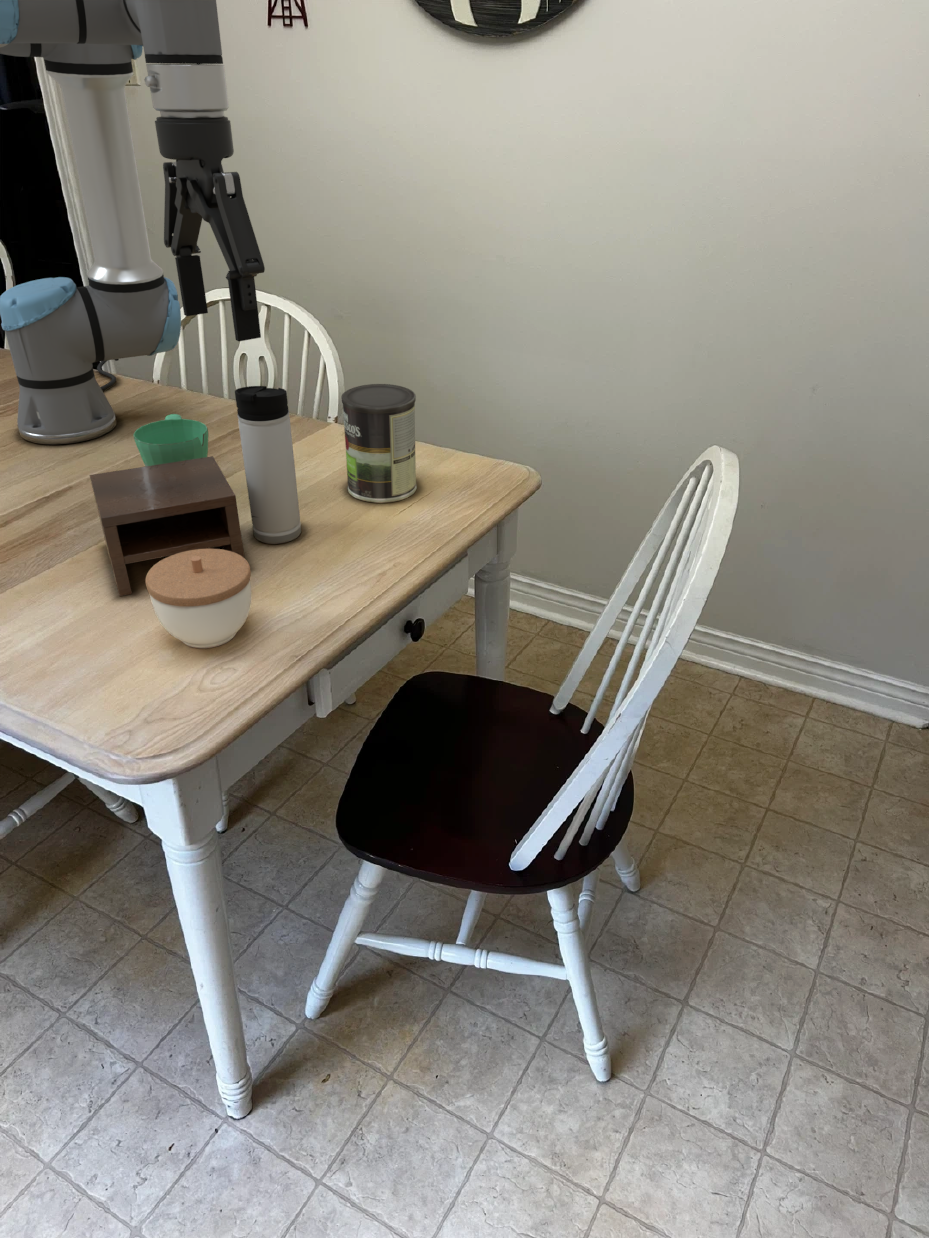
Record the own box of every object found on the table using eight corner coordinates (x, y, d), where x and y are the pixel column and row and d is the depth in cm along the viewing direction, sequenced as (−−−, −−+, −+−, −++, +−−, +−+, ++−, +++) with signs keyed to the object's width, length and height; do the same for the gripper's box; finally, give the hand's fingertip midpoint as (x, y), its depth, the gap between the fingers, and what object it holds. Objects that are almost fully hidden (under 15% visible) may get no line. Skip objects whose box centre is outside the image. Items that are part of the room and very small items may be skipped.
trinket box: (137, 639, 95) (119, 564, 90) (211, 597, 102) (199, 526, 97) (205, 672, 90) (191, 595, 85) (278, 626, 97) (269, 552, 92)
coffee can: (358, 508, 123) (352, 411, 115) (340, 479, 131) (333, 387, 123) (427, 497, 126) (425, 402, 118) (405, 470, 134) (402, 380, 127)
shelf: (107, 548, 112) (89, 475, 107) (223, 526, 118) (212, 456, 112) (119, 596, 102) (100, 518, 97) (246, 570, 108) (235, 495, 102)
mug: (219, 508, 122) (208, 440, 117) (145, 516, 120) (131, 447, 115) (215, 468, 134) (205, 405, 129) (148, 474, 132) (136, 410, 127)
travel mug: (243, 541, 114) (222, 392, 103) (268, 520, 119) (250, 376, 109) (286, 549, 113) (268, 398, 102) (309, 527, 118) (295, 381, 107)
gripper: (111, 109, 95) (147, 309, 107) (210, 122, 79) (240, 356, 91) (176, 108, 99) (205, 300, 111) (284, 120, 83) (304, 344, 95)
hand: (221, 326), depth 101 cm, fingers open, 13 cm apart
